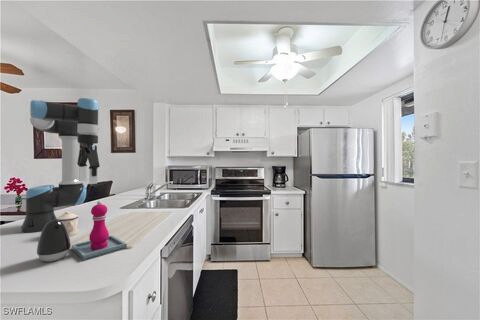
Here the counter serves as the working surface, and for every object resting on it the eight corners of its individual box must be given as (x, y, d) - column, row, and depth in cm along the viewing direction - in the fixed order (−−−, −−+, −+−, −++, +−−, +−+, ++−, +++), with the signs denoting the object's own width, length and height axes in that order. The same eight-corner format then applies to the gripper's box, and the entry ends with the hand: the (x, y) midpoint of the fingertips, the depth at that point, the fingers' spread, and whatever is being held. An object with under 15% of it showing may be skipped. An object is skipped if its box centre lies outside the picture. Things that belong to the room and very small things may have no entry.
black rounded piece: (43, 267, 81) (42, 225, 80) (32, 260, 86) (32, 220, 86) (75, 257, 89) (75, 218, 89) (64, 251, 95) (64, 215, 95)
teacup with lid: (53, 234, 114) (53, 212, 114) (74, 230, 121) (74, 208, 121) (60, 240, 107) (60, 216, 107) (83, 235, 114) (83, 212, 114)
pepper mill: (99, 251, 93) (99, 202, 93) (85, 249, 95) (85, 202, 94) (112, 244, 100) (112, 199, 100) (99, 243, 102) (99, 199, 101)
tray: (71, 249, 96) (71, 245, 96) (111, 239, 109) (111, 235, 109) (83, 260, 86) (83, 255, 86) (126, 248, 98) (126, 243, 98)
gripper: (108, 134, 94) (108, 184, 95) (88, 135, 110) (87, 178, 111) (88, 132, 89) (87, 186, 89) (69, 134, 104) (69, 180, 105)
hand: (87, 182), depth 100 cm, fingers open, 13 cm apart
